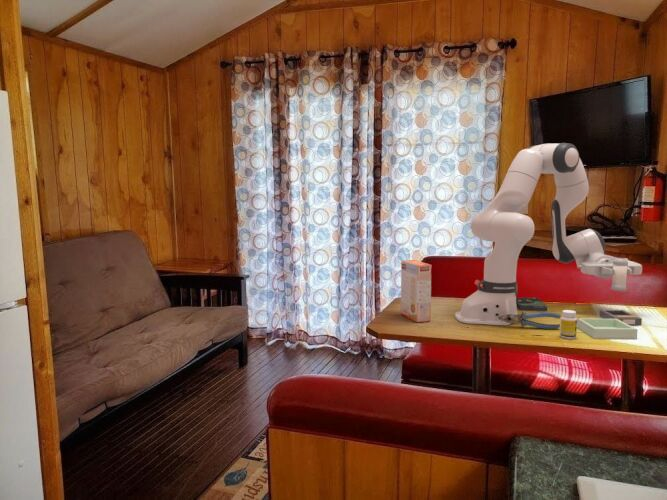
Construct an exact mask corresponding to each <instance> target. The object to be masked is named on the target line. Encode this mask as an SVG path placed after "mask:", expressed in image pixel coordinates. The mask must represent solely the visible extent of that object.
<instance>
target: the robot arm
mask: <svg viewBox="0 0 667 500" xmlns="http://www.w3.org/2000/svg"><path fill="white" fill-rule="evenodd" d="M542 174H546V175H552V174H553V179H554V184H555V189H556V190H555V191H556V192H555V193H556V194H555V198H554V199H553V200H552V201H551V206H550V217H551V219H550V220H551V221H550V222H551V236H552V242H551V249H552V254H553V256H554V259H555V260H556V261H558V262H559V263H562V264H569V263H573V262H574V261H575V263H576V268H577V269H580V272H581V273H582V274H585V275H592V276H595V277H597V278H599V279H608V278H612V277H613V274H615V270H614V269H613V259H615V258H620V259H628V258H627V257H616V256H612V255H609V254H608V255H607V254H606V242H605V239H604V237H603V236H602V235H601V233H600V232H598V231H597V230H595V229H592V228H587V229H584V230H581V231H578V232H576V233H574V234H570V235H567V231H566V218H567V216H569V214H570V213H571V212H572V211H573V210H574V209H575V208H576V207H577V206H579V205H580V204H582V202H584V200H586V199H587V198H586V197H587V196H588V194H589V192H590V184H589V180H588V175H587V172H586V169H585V167H584V165H583V161H582V159H581V157H580V152H579V150H578V149H577V147H576V145H574V144H573V143H568V142H567V143H566V142H561V143H560V142H559V143H549V142H548V143H541V144H538V145H536V144H535V145H531V146H529V147H526V148H524V149H522V150H521V149H520V151H518V152H517V154H516V156H514V158H513V160H512V162H511V163H510V166H509V167H508V169H507V172H506V174H505V177H504V178H503V181H502V183H501V186H500V188H499V190H498V192H497V194H496V195H495V196H494V198H493V199H492V200H491V201H490V202H489V204H488V205H487V206H486V207H485V208H484V209H482V210H481V211H480V212H479V213H477V214H475V216H474V217H473V218H472V220H471V223H470V229H471V233H472V234H473V235H474V236H475V237H477V238H479V239H481V240H483V241H485V242H492V243H493V242H494V246H493V249H492V252H490V253H489V254H488V255H486V257H485V259H484V265H483V266H484V267H483V279H482V280H479V279H475V281H474V284H475V285H476V286H477V290H476V291H475V292H473V293H471V294H470V295H469V296H467V297H466V298H464V299H463V302H462V304H461V307H460V310H459V311H456V312H455V314H454V318H455V319H456V320H457V321H458V322H460V323H464V324H473V325H493V326H509V325H511V324H512V323H507V322H504V321H502V320H499V319H498V317H499V316H502V315H506V314H515V315H518V314H519V313H518V308H517V305H516V297H518V296H517V294H518V281H517V267H518V260H519V256H520V253H521V251H522V249H523V248H524V246H525V245H526V244H527V243H528V242H530V241H531V240H532V238H533V236H534V235H535V228H536V227H535V223H534V221H533V219H532V217H530V216H529V215H526V214H523V213H519V211H520V210H521V209H523V208H525V207H526V206H527V205H528V204H529V203H530V201H531V198H532V196H533V194H534V192H535V189H536V187H537V184H538V181H539V180H540V177H541V175H542ZM642 273H643V265H642V264H641V263H639V262H636V261H631V260H628V266H627V276H628V275H629V276H630V275H631V276H636V275H637V276H640V275H642ZM503 319H505V318H503Z"/></svg>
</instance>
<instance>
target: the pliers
mask: <svg viewBox="0 0 667 500" xmlns="http://www.w3.org/2000/svg"><path fill="white" fill-rule="evenodd" d="M548 317H549V318H555V319H561V317H562V314H560V313H556V312H553V311H551V312H550V311H536V312H531V313H527V312H526V311H521V314H519V313H518V315H515V314H506V315H502V316H499V317H498V319H499V320H502V321H504V322H507V323H511V324H515V323H516V324H520V326H521V327H522V328H524V327H526V326H530V327H532V328H538V329H541V330H542V329H544V330H553V329H560V323H559V324H557V323H556V324H548V323H547V324H546V323H541V322H537V321H532V320H529V319H537V318H548ZM503 318H505V319H503Z"/></svg>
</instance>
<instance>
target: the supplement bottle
mask: <svg viewBox="0 0 667 500" xmlns="http://www.w3.org/2000/svg"><path fill="white" fill-rule="evenodd" d="M559 324H560V327H559V336H560V338H563V339H567V340H568V339H569V340H575V339H576V338H577V329H578V328H577V311H575V310H570V309H564V310H561V318H560V323H559Z"/></svg>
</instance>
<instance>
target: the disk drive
mask: <svg viewBox="0 0 667 500" xmlns="http://www.w3.org/2000/svg"><path fill="white" fill-rule="evenodd" d="M516 305H517V310H519V311H520V310H521V312H522V311H524V312H526V311H529V312H530V311H531V312H548V306H547V304H546V303H545V302H543V301H542V300H541V299H540V298H538V297H526V296H525V297H518V296H516Z"/></svg>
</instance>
